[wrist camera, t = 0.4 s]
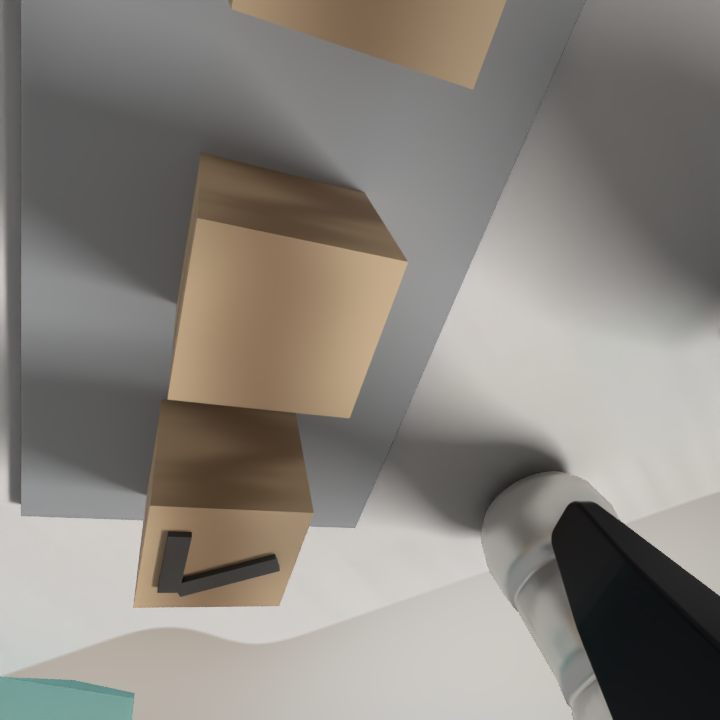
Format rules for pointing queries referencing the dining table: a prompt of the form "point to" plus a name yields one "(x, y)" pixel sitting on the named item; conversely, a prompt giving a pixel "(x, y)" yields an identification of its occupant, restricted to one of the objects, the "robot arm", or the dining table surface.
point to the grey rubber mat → (174, 203)
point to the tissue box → (62, 700)
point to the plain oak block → (280, 292)
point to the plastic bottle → (543, 577)
